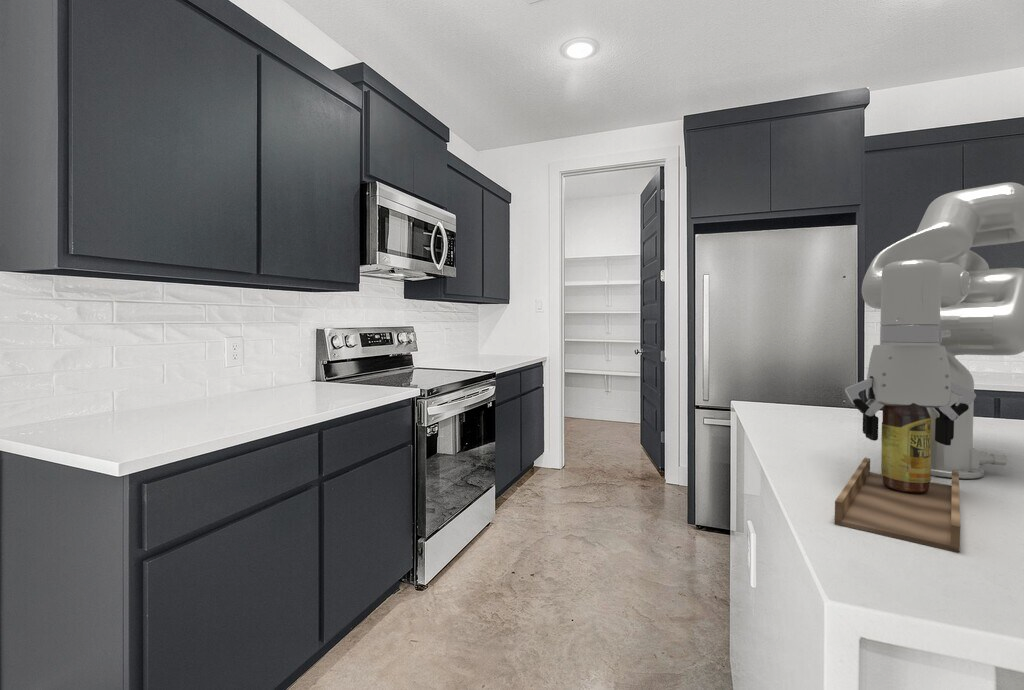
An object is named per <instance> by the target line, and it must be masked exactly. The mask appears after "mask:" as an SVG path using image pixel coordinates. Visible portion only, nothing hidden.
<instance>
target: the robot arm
mask: <svg viewBox="0 0 1024 690" xmlns="http://www.w3.org/2000/svg"><path fill="white" fill-rule="evenodd" d="M1019 242H1020V243H1021V242H1024V185H1023V184H1021V183H1018V182H1010V181H1009V182H1001V183H995V184H990V185H983V186H978V187H973V188H965V189H961V190H956V191H955V190H954V191H951V192H948V193H945V194H942V195H940V196H938V197H937V198H935V199H934V200H933V201H931V202H930V204H929V205H928V206H927V209H926V210H925V212H924V215H923V217H922V218H921V220H920V223H919V225H918V228H917V229H916V232H913V233H911V234H910V235H908V236H906V237H904V238H902V239H899V240H898V241H896V242H894V243H892V244H891V245H889V246H887V247H885V248H884V249H883V250H881V251H880V252H878V253H877V254H876V255H875V257H874V258H872V260H871V262H870V264H869V266H868V268H867V270H866V273H865V275H864V278H863V280H862V284H861V295H862V299H863V301H864V303H865V304H866V305H868V307H870V308H873V309H875V310H876V309H877V310H880V320H879V321H880V327H879V328H880V330H879V333H880V334H879V344H873V346H872V349H871V354H870V357H869V364H868V367H867V368H868V369H867V375H866V379H864V380H861V381H859V382H856V383H853V384H851V385H849V386H847V387H845V388H844V392H845V394H846V395H847V397H848V399H849V400H850V403H851V404H852V405H853V406H854V407H855V408H856V409H857V410H858V411H859V413H861V414H862V433H863V434H864V435H865V438H867V439H869V440H871V441H874V442H875V441H878V440H879V417H878V416H877V415H876V414H877V413H878V412H879V411H880V410H881V409H883V406H884V405H889V406H902V405H910V404H912V403H915V404H917V405H920V406H923V407H926V408H927V410H928V412H929V415H930V417H931V476H934V477H941V478H951V479H952V470H954V471H959V479H969V480H970V479H980V478H982V477H984V475H985V470H984V469H983V468H982V467H984V466H985V465H986V464H987V465H988V464H989V465H994V466H1006V465H1007V463H1008V459H1007V456H1006V455H1005V454H999V453H997V454H996V453H990V454H989V452H986V451H985V452H984V451H981V450H979V449H975V448H973V441H974V404H975V403H974V401H975V400H976V397H977V394H976V393H975V381H974V377H973V375H972V373H971V372H970V371H969V370H968V369H967V367H965V366H964V365H963V363H961V362H960V361H959V360H958V359H957V357H956V356H966V355H967V356H972V355H973V356H1015V355H1019V354H1021V353H1024V268H1023V267H1000V268H990V266H989V264H988V262H987V261H986V259H984V258H983V257H982V256H980V255H979V254H978V253H976V252H974V251H973V250H972V249H971V248H975V247H985V246H993V245H1003V244H1005V245H1006V244H1011V243H1019ZM863 391H865V395H866V396H865V397H866V399H867V401H866V402H864V400H862V399H861V397H860V395H859V394H860V392H863ZM981 466H982V467H981Z"/></svg>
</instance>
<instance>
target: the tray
mask: <svg viewBox="0 0 1024 690" xmlns="http://www.w3.org/2000/svg"><path fill="white" fill-rule="evenodd" d="M959 479H960V478H959V471H954V470H952V478H951V484H945V483H940V482H933V481H930V482H929V489H928V491H926V492H921V493H916V492H903V491H899V490H895V489H891V488H889V487H887V486H885V485H884V484H883V475H882V473H877V472H871V458H870V457H863V459H862V461H861V462H860V463H859V465H858V467H857V468H856V470H855V471H854V473H853V474H852V476H851V477H850V479H848V481H847V483H846V485H845V486H844V487H843V488H842V490H841V492H840V493H839V495H838V496H837V498H836V499H835V501H834V525H837V524H839V525H838V526H841V525H844V526H843V527H846V526H847V528H850V527H853V528H852V529H854V528H856V529H855V530H859V529H861V530H860V531H863V530H865V531H864V532H867V531H870V532H869V533H872V532H873V534H876V533H877V535H880V534H881V535H880V536H885V537H888V538H893V537H894V538H893V539H897V540H898V539H899V540H903V541H906V542H907V541H908V542H912V543H915V544H920V545H924V546H929V547H933V548H936V547H937V548H936V549H941V548H942V550H945V549H947V550H946V551H949V550H951V552H954V551H957V552H956V553H958V552H960V551H961V510H960V509H961V508H960V507H961V505H960V480H959Z"/></svg>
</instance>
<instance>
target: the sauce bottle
mask: <svg viewBox="0 0 1024 690" xmlns="http://www.w3.org/2000/svg"><path fill="white" fill-rule="evenodd" d="M880 453H881V455H880V456H881V458H880V459H881V464H880V465H881V468H880V469H881V474H882V475H883V484H884V485H885V486H887V487H889V488H891V489H895V490H899V491H903V492H916V493H921V492H926V491H928V489H929V482H932V479H931V477H932V475H931V417H930V415H929V412H928V410H927V408H926V407H923V406H920V405H917V404H915V403H912V404H910V405H902V406H889V405H884V406H883V407H882V422H881V452H880Z"/></svg>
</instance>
